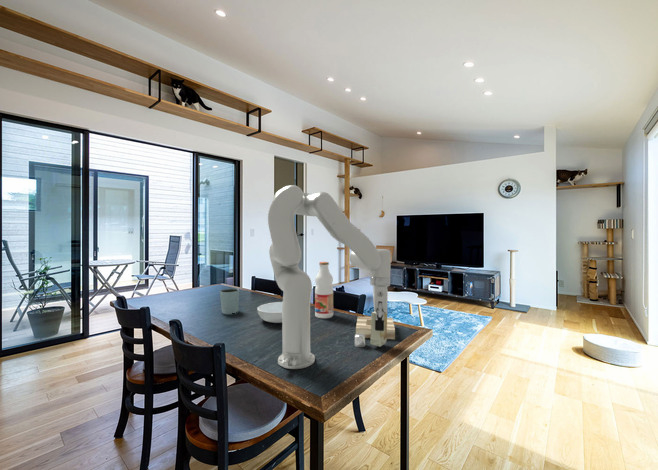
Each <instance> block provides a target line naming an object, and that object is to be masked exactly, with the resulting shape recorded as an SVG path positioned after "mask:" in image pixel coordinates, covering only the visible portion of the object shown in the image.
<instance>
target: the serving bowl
mask: <svg viewBox="0 0 658 470" xmlns="http://www.w3.org/2000/svg"><path fill="white" fill-rule="evenodd" d="M282 303H283V301H276V302H275V301H274V302H269V303H265V304H261V305H259V306H257V308H256V309H257V314H258V316H259V317H260V318H261V320H263V321H265V322H268V323H273V324H282Z"/></svg>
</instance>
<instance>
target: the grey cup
mask: <svg viewBox="0 0 658 470" xmlns="http://www.w3.org/2000/svg"><path fill="white" fill-rule="evenodd" d="M219 297H220V305H221V307H220V308H221V314H222V313H223V315H233V314H232V313H235V314H237V313H239V308H240V307H239V306H240V305H239V302H240V301H239V298H240V288H224V289H221V290H219ZM236 312H237V313H236Z"/></svg>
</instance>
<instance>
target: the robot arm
mask: <svg viewBox="0 0 658 470" xmlns="http://www.w3.org/2000/svg"><path fill="white" fill-rule="evenodd" d="M272 199H273V200H272V201H271V204H270V207H269V210H268V215H267V225H268V229H269V234H270V239H271V245H270V247H269V251H268V253H269V259H270V263H271V268H272V270H273V274H274V278H275V281H276V282H275V283H276V284H277V286H278V288H279V289H280V290H281V291H282V292H283V294H282V302H283V303H282V323H281V326H282V327H281V329H282V330H281V332H282V333H281V334H282V338H281V339H282V343H281V344H282V347H281V348H282V353H281V354H280V355H279V356H278V358H277V364H278V365H279V366H281V367H282V368H283V369H284V368H285V369H289V370H300V369H305V368H308V367H310V366H312V365H313V364H314V363H315V359H316V357H315V354H313V353H312V352H311V297H312V290H313V287H312V286H313V285H312V280H311V278H310V276H309V275H308V273H306V272H305V271H304V270H302V269H300V266H299V263H300V261H301V259H302V249H301V245H300V242H299V238H298V235H297V231H296V226H295V216H296V215H299V216H308V217H316V218H317V219H318V221H319V222H320V223H321V224H322V225H323V227H324V228H325V230H326V231H327V233H329V235H330V236H331V237H332V238H333V239H334V240H336V241H338V243H341V244H342V245H344V246H346V247H347V248H349V249H350V250H351V252H350V254H349V262H350V264H351V265H352V266H353V267H355V268H357V269H360V270H361V269H363V270H366V271H370V282H369V283H370V285H371V286H373V288H372V289H373V290H372V291H373V292H372V295H373V297H372V300H373V310H374V311H375V312H376V319H375V330H376V331H384V320H383V314H384V312H386V313H387V314H388V295H389V294H388V293H389V292H388V287H390V286H391V266H392V265H391V262H392V261H391V258H392V254H391V251H390V250H389V249H388V248H377V247H376V246H375V245H374V243H373V242H372V240H371V239H369V237H368V236H367V235H366V234H365V233H364V232H362V230H360V229H359V228H358V227H357V226H356V225H354V224H353V223H352V222H351V221H350V220H349V218H348V217H347V215H346V214H345V213H344V211H342V208H341V207H340V206H339V205H338V203H337V202H336V201H335V200H334V198H333V197H332V196H331V194H330V193H328V192H325V191H319V192H315V193H308V192H304V191H303V189H302V188H301V187H299V186H297V185H295V184H290V185H285V186H283V187H282V188H280V189H279V190H277V191H276V192H275V193H274V196H273V198H272ZM377 310H378V311H377ZM374 311H373V312H374ZM377 313H378V315H377ZM377 317H378V318H377Z"/></svg>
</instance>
